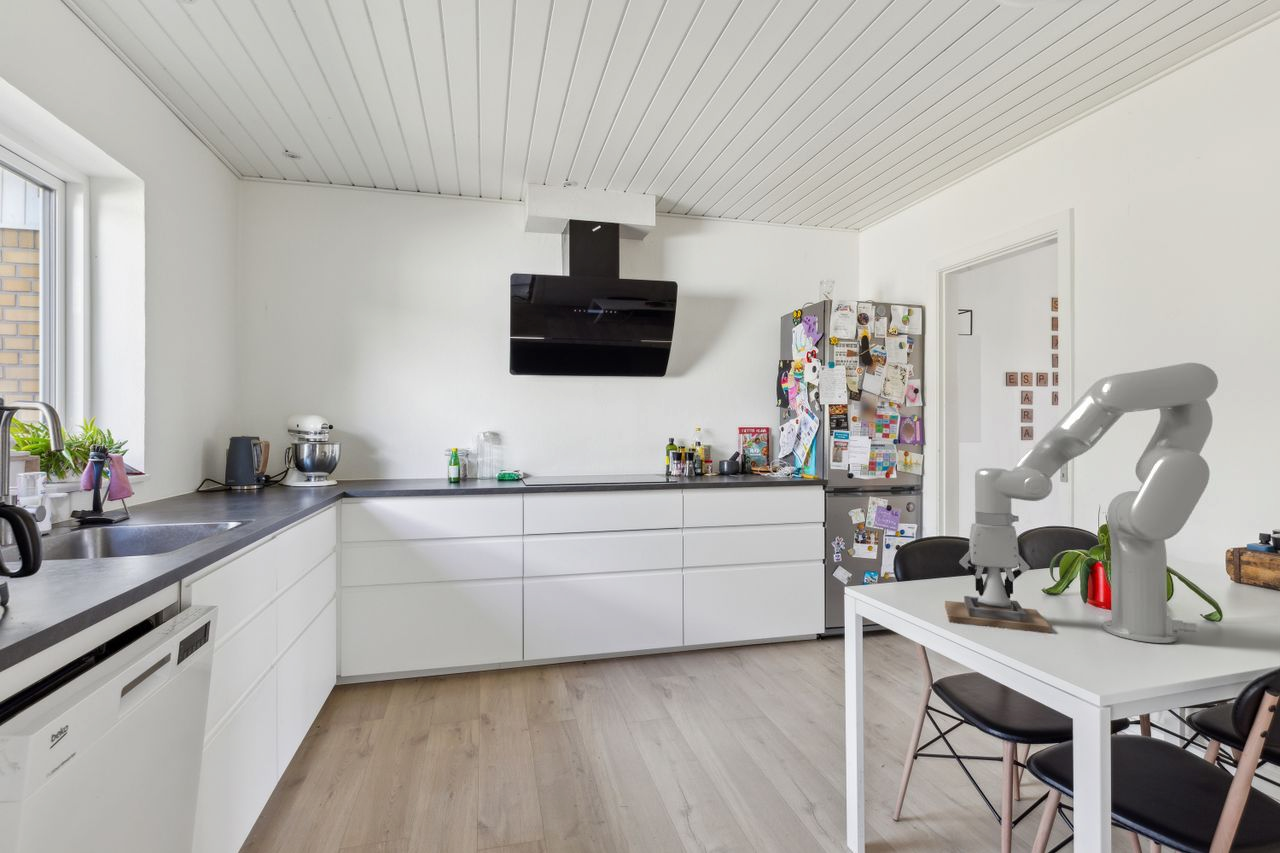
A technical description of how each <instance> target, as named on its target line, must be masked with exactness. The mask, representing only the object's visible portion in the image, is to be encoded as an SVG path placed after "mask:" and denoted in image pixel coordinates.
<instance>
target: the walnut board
mask: <svg viewBox="0 0 1280 853" xmlns="http://www.w3.org/2000/svg"><path fill="white" fill-rule="evenodd" d="M963 597H964V598H963V599H964V602H962V601H952V600H951V601H950V600H945V601H944V608H945V612H946V615H948V616H947V619H948V622H949V623H951V622H953V624H960V623H961V624H962V625H969V626H970V625H971V626H982V627H987V626H989V628H996V627H998V629H1005V628H1007V629H1008V630H1015V631H1024V632H1025V631H1026V632H1034V633H1035V632H1036V633H1044V634H1051V626H1050V625H1049V624H1048V623H1047V621H1046V620H1045V619H1044V617H1043V616H1042V614H1040V612H1039V611H1038V610H1037V609H1036V608H1035V609H1034V608H1033V609H1032V608H1024V607H1022V606H1021V605H1020V603H1019V602H1018V601H1017V600H1011V599H1010V601H1011V605H1009V606H995V605H988V604H984V603H981V602H978V598H979V596H970V595H969V596H968V595H964V596H963Z"/></svg>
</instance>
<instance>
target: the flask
mask: <svg viewBox="0 0 1280 853" xmlns="http://www.w3.org/2000/svg"><path fill="white" fill-rule="evenodd" d="M1002 577H1003V576H1002V572H1001V568H992V567H987V571H986V576H985V579H984V581H983V594H982V595H979V594H978V597H979V598H978V602H981V603H984V604H988V605H995V606H1009V605H1011V601H1010V600H1011V597H1010V598H1008V596H1007V593H1006V589H1005V582H1004V580H1003V578H1002Z"/></svg>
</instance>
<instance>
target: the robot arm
mask: <svg viewBox="0 0 1280 853" xmlns="http://www.w3.org/2000/svg"><path fill="white" fill-rule="evenodd" d="M1218 386H1219V378H1218V376H1217V374H1216V372H1215V370H1213V369H1212V368H1211V367H1209V366H1207V365H1205V364H1202V363H1197V362H1185V363H1184V362H1183V363H1178V364H1175V365H1168V366H1163V367H1156V368H1151V369H1146V370H1139V371H1133V372H1124V373H1118V374H1113V375H1109V376H1105V377H1103V378H1101V379H1099V380H1097V381H1096V382H1094V383H1093V384H1092V385H1091V386H1090V387H1089V388H1088V389H1087V391H1086V392H1084V394H1083V395H1082V396H1081V397H1080V398H1079V399H1078V401H1077V402H1076V403H1075V404H1073V406H1072V407H1071V408H1070V409H1069V410H1068V412H1067V413H1066V414H1064V416H1062V418H1061V419H1060V420H1059V421H1058V422H1057V423H1056V424H1055V426H1053V427H1052V428H1051V429H1050V430H1049V431H1048V432H1046V434H1045V435H1044V436H1043V438H1042V439H1041V440H1040V441H1038V442H1037V443H1036V444H1035V445H1034V446H1033V447H1032V448H1031V449H1030V450H1029V451H1028V452H1027V453H1026V454H1025V455H1024V457H1023V458H1021V459H1020V461H1019V462H1018V463H1017V464H1016V465H1015V466H1014V468H1013V469H1012V470H1007V469H1005V468H993V467H990V468H989V467H988V468H986V467H984V468H979V469H977V470H976V471H975V474H974V500H975V502H974V503H975V504H974V505H975V506H974V508H975V509H974V512H975V515H974V516H975V519H974V520H975V522H974V523H971V526H970V532H969V542H968V545H969V546H968V551H967V552H966V553H965V554H964V556H962V558H960V560H959V565H961V566H962V567H963V568H965V569H966V570H967V571H968V572H970V574H972V575H973V577H974V578H975V580H974V581H975V583H974V584H975V592H978V596H979V595H982V594H983V585H984V579H983V576H982V574H983V571H984V568H988V567H992V568H1000V569H1004V572H1005V574H1006V576H1005V578H1004V586H1005V589H1006V593H1007V596H1008V598H1010V599H1011V595H1012V594H1014V582H1015V580H1016V579H1017V578H1019V577H1020V576H1021V575H1022V574H1023V573H1025V572H1027V571H1029V570H1030V569H1031V567H1030V565H1029V564H1028V563H1027V562H1026V561H1025V560H1024V559H1023V557H1022V556H1021V555H1020V554H1019V543H1018V537H1017V535H1018V534H1017V531H1016V527H1015V526H1014V525H1013V524H1014V523H1015V522H1016V523H1017V522H1019V519H1020V518H1019V515H1014V514H1013V513H1012V499H1015V500H1021V501H1027V502H1028V501H1029V502H1038V501H1042V500H1045V499H1046V498H1047V497H1049V496H1050V494H1052V491H1053V482H1052V480H1051V478H1052V477H1053V476H1054V475H1055V474H1056V473H1057V471H1059V470H1060V469H1061V468H1062V467H1063V466H1065V465H1066V464H1067V463H1069V461H1071V460H1073V459H1075V458H1077V457H1079V456H1081V455H1083V454H1084V453H1087V452H1088V451H1089V450H1091V449H1092V448H1093V447H1094V446H1095V445H1096V444H1097V443H1098V442H1099V441H1100V440H1101V439H1102V438H1103V436H1105V434H1106V433H1107V432H1108V431H1109V430H1110V429H1111V428H1112V427H1113V426H1114V425H1115V423H1117V422H1118V421H1119V419H1121V418H1122V416H1123V415H1124V414H1125V413H1134V412H1143V411H1149V410H1156V409H1157V410H1158V409H1159V414H1160V416H1159V422H1158V424H1157V426H1156V427H1155V431H1154V433H1153V434H1152V436H1151V439H1150V440H1149V442H1148V443H1147V445H1146V447H1145V449H1144V451H1143V453H1142V454H1141V455H1140V457H1139V458H1138V460H1137V462H1136V466H1135V469H1134V470H1135V475H1136V478H1137V479H1138V481H1140V483H1142V484H1141V486H1140V487H1139V489H1138V490H1135V491H1134V490H1130V491H1125V492H1121V493H1119V494H1117V495H1115V497H1113V499H1112V500H1111V501H1110V503H1109V504H1108V508H1107V513H1106V514H1107V524H1108V531H1109V540H1110V586H1111V587H1110V591H1111V592H1110V595H1111V596H1110V600H1111V619H1110V620H1105V621H1103V623H1102V627H1103V628H1102V629H1103V630H1105V632H1107V633H1110V634H1112V635H1114V636H1117V637H1121V638H1124V639H1128V640H1133V641H1137V642H1144V643H1145V642H1146V643H1154V644H1172V643H1174V642H1176V641H1177V640H1178V634H1177V633H1178V632H1179V631H1180V632H1187V633H1192V634H1193V633H1197V631H1198V627H1197V625H1196V623H1193V622H1184V621H1183V620H1177V619H1175V620H1174V619H1172V618H1171V617H1169V616H1168V593H1167V592H1168V591H1167V589H1168V588H1167V584H1168V583H1167V582H1168V581H1167V580H1168V579H1167V578H1168V577H1167V576H1168V575H1167V567H1168V564H1167V562H1168V561H1167V560H1168V559H1167V558H1168V557H1167V550H1166V549H1167V548H1166V540H1168V539H1171V538H1173V537H1174V536H1176V535H1177V534H1178V533H1180V531H1181V530H1182V529H1183V528H1184V526H1185V525H1186V523H1187V521H1188V520H1189V518H1190V516H1191V515H1192V513H1193V511H1194V509H1195V508H1196V506H1197V504H1198V502H1199V501H1200V499H1201V497H1202V495H1203V494H1204V492H1205V490H1206V488H1207V486H1208V484H1209V480H1210V474H1211V472H1210V468H1209V463H1208V462H1207V461H1206V460H1205V458H1204V457H1203V456H1202V455H1200V454H1201V452H1202V450H1203V449H1204V446H1205V444H1206V442H1207V440H1208V438H1209V435H1210V434H1211V431H1212V428H1213V413H1212V408H1211V407H1210V404H1209V402H1208V400H1207V399H1209V398H1210V397H1211V396H1212V395H1214V393H1215V392H1216V390H1217V389H1218ZM969 561H970V562H971V564H972V565H973V566H975V567H973V566H972V565H971V564H970V563H968V562H969Z"/></svg>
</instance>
